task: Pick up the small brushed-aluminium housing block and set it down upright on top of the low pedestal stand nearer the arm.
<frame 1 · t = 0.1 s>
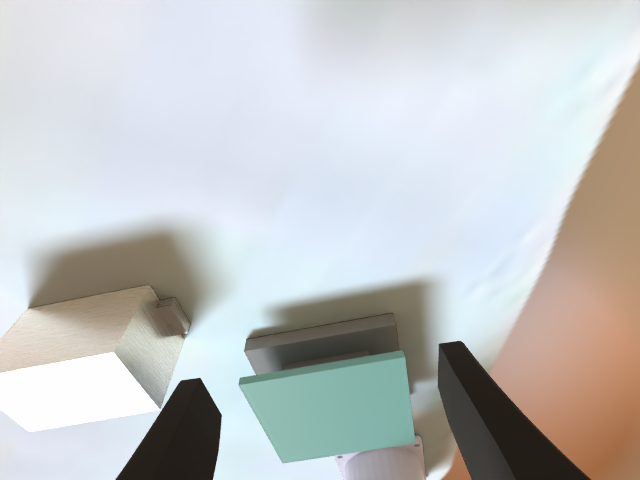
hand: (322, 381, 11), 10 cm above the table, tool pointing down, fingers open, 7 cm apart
housing: (109, 324, 23), on the table
stand: (332, 371, 27), on the table
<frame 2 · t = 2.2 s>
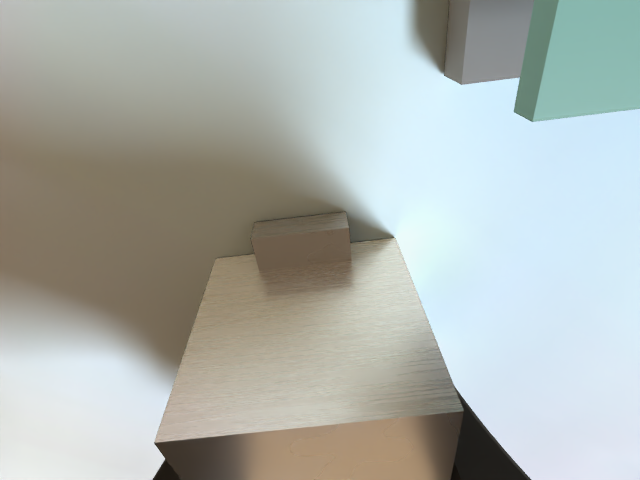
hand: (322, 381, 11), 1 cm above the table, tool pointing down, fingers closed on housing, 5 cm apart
housing: (320, 344, 12), on the table, touching gripper
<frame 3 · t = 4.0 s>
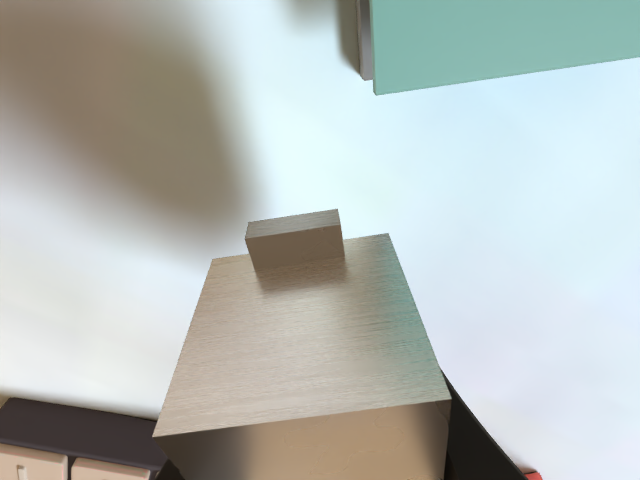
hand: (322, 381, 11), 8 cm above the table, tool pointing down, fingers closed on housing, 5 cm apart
calculator: (123, 444, 29), on the table
housing: (319, 341, 12), point 7 cm above the table, touching gripper
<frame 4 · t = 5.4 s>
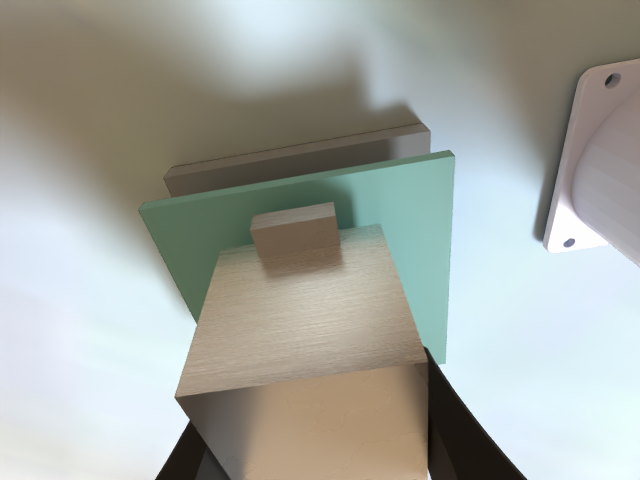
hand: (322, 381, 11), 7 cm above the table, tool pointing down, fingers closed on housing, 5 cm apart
housing: (320, 324, 13), point 4 cm above the table, touching gripper
stand: (316, 248, 17), on the table
when the fingers open (6 cm above the table, at t = 6.1 s): housing stays where it is, resting on stand.
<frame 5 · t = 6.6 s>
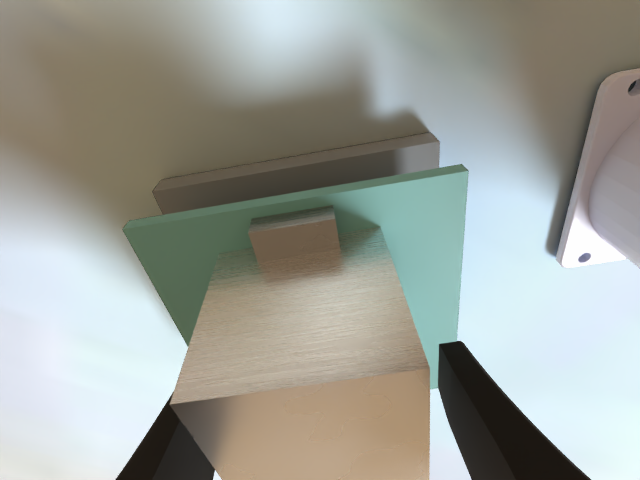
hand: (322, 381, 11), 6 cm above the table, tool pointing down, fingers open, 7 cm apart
housing: (320, 329, 13), point 3 cm above the table, touching stand
stand: (316, 263, 16), on the table
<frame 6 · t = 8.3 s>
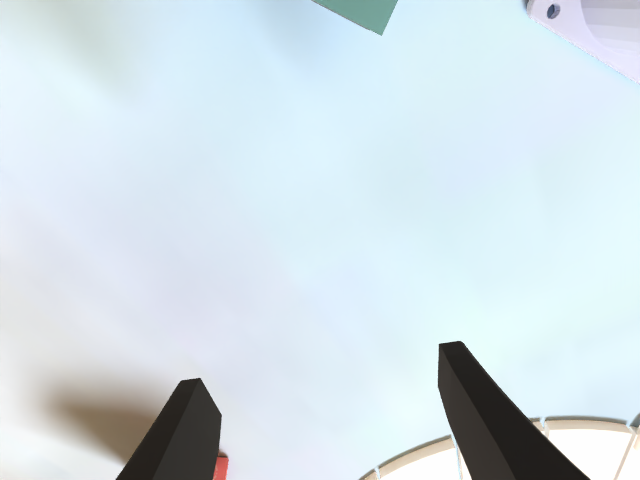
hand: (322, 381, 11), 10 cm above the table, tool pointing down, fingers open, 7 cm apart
ink cartridge box: (182, 462, 35), on the table
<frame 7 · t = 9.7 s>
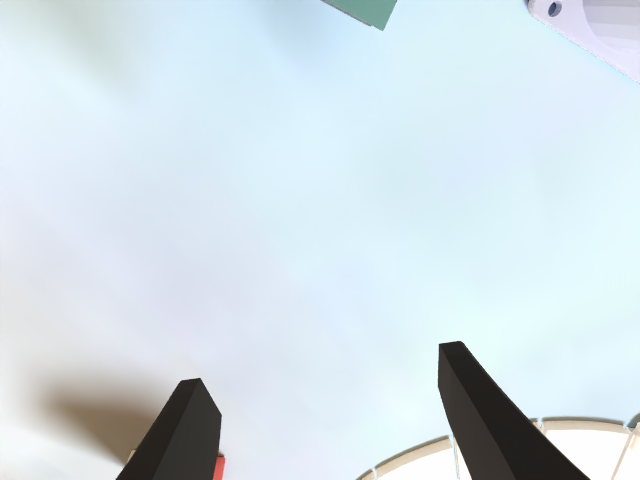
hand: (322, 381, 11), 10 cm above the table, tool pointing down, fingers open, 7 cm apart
ink cartridge box: (179, 462, 34), on the table
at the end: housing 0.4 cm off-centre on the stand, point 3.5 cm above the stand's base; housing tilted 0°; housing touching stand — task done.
